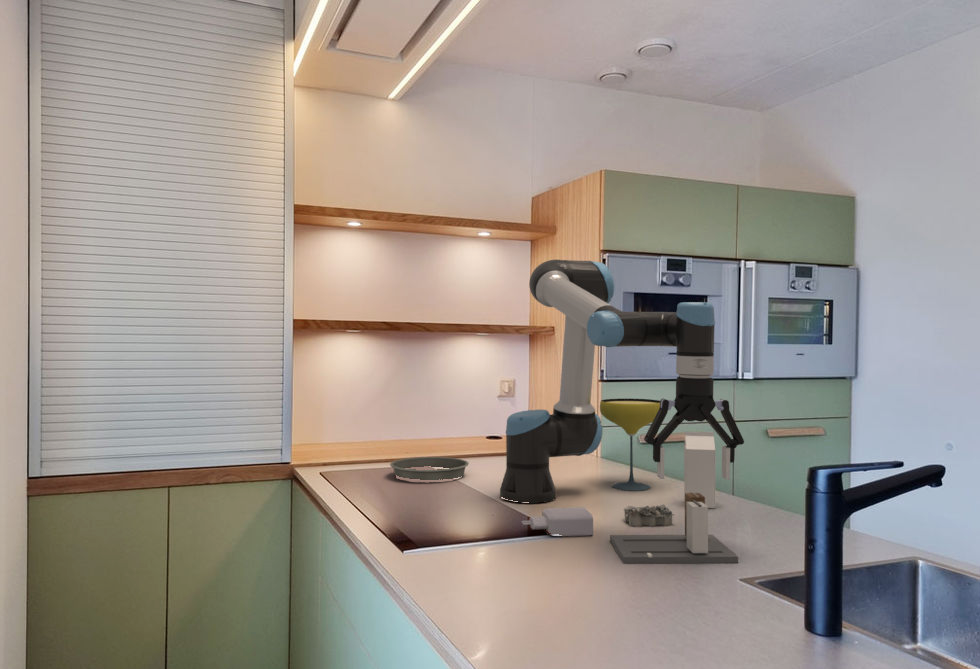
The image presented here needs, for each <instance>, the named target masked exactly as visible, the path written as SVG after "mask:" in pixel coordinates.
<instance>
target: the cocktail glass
mask: <svg viewBox="0 0 980 669" xmlns="http://www.w3.org/2000/svg"><path fill="white" fill-rule="evenodd" d="M659 407H660V400H658V399H647V398H607V399H602V400H600V402H599V411H600V414H601V415H602V416H603V417H604V418H605V419H606V420H608V421H609V422H611V423H613V424H615V425H617V426H618V427H620V428H621V429H623V430H624V432H625V433H626V435H628V436H629V438H630V440H629V441H630V442H629V443H630V444H629V445H630V447H629V448H630V452H629V454H630V455H629V461H630V462H629V477H628V480H627V481H623V482H622V481H621V482H616V483H613V484H612V487H613V489H616V490H619V489H620V491H625V490H628V492H642V491H643V492H644V491H649V490H650V489H651V486H650V485H649V484H647V483H643V482H636V481H635V477H634V466H633V465H634V464H633V463H634V461H633V460H634V459H633V458H634V456H633V437H634V436H635V435H636V434H638V432H639V430H641V429H642V428H644V427H645V426H647V425H650V424H652V422H653V420H654V418H655V416H656V414H657V412H658V410H659Z"/></svg>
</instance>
